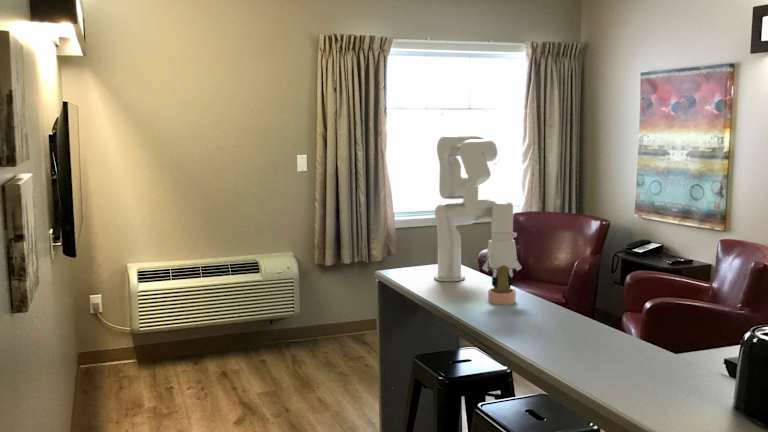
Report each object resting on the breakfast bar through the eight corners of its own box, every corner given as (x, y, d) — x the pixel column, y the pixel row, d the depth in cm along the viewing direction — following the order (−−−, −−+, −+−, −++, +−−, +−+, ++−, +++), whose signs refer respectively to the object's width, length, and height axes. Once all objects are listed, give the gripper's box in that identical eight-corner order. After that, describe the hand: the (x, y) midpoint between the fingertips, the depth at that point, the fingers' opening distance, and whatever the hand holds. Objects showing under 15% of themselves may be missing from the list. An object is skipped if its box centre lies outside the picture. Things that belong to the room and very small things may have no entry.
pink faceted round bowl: (486, 298, 250) (486, 287, 249) (511, 297, 251) (511, 287, 250) (492, 305, 241) (492, 293, 240) (518, 304, 241) (518, 292, 241)
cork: (509, 291, 248) (509, 261, 247) (511, 295, 242) (511, 264, 241) (492, 291, 249) (492, 261, 247) (493, 295, 243) (493, 264, 241)
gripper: (522, 234, 247) (522, 284, 249) (476, 235, 246) (476, 286, 248) (528, 237, 240) (528, 289, 242) (480, 239, 239) (481, 290, 241)
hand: (501, 287), depth 245 cm, fingers closed on cork, 4 cm apart
